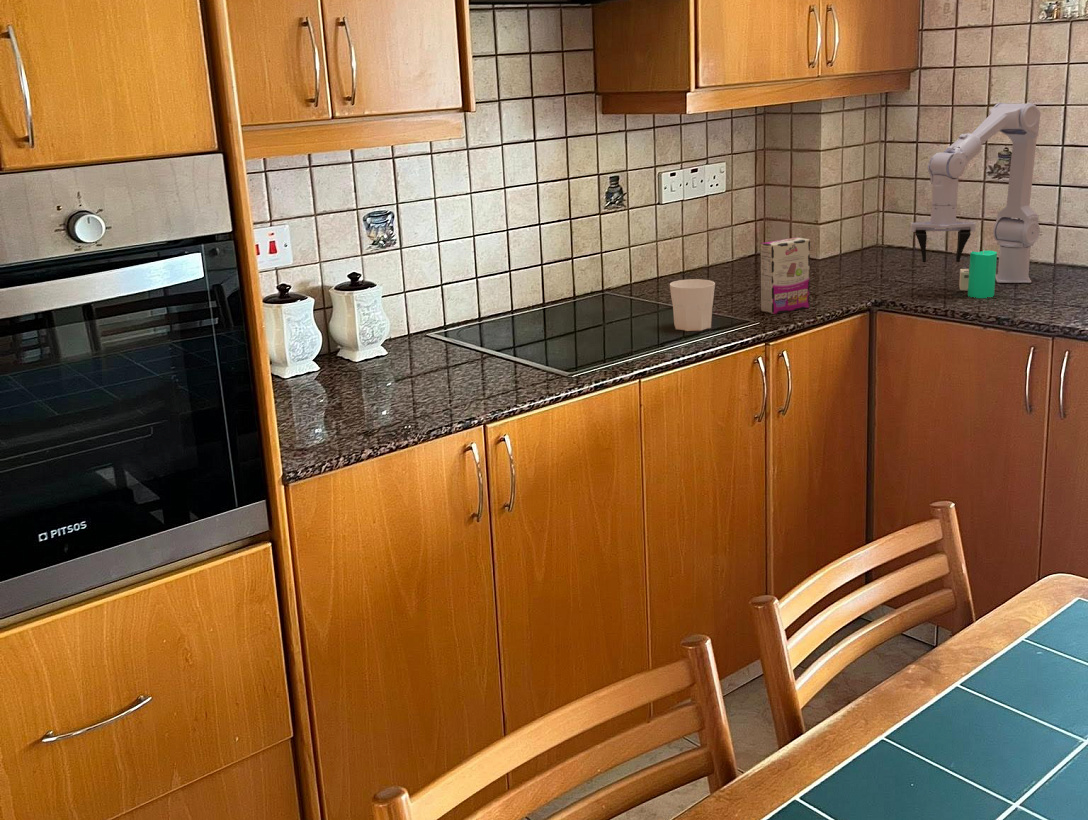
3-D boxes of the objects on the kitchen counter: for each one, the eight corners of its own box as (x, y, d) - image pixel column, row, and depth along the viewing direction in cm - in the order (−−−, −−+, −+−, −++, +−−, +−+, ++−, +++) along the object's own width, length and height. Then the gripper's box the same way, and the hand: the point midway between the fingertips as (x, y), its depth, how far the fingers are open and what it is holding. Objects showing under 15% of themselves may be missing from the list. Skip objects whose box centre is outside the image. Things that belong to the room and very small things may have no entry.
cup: (668, 322, 268) (668, 280, 265) (712, 321, 267) (712, 278, 265) (672, 332, 258) (671, 288, 255) (717, 331, 258) (717, 287, 255)
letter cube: (959, 286, 291) (960, 268, 290) (978, 286, 290) (979, 268, 289) (960, 290, 287) (961, 272, 286) (979, 290, 286) (980, 272, 284)
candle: (995, 293, 281) (998, 244, 277) (992, 298, 276) (996, 248, 272) (968, 292, 283) (972, 243, 280) (966, 297, 278) (969, 247, 275)
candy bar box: (796, 304, 280) (797, 236, 275) (810, 308, 275) (811, 239, 271) (758, 311, 275) (759, 242, 270) (772, 314, 271) (773, 244, 266)
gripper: (912, 206, 273) (910, 264, 277) (978, 206, 269) (974, 264, 273) (911, 203, 279) (908, 259, 283) (975, 202, 276) (971, 259, 280)
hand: (940, 261), depth 279 cm, fingers open, 7 cm apart
